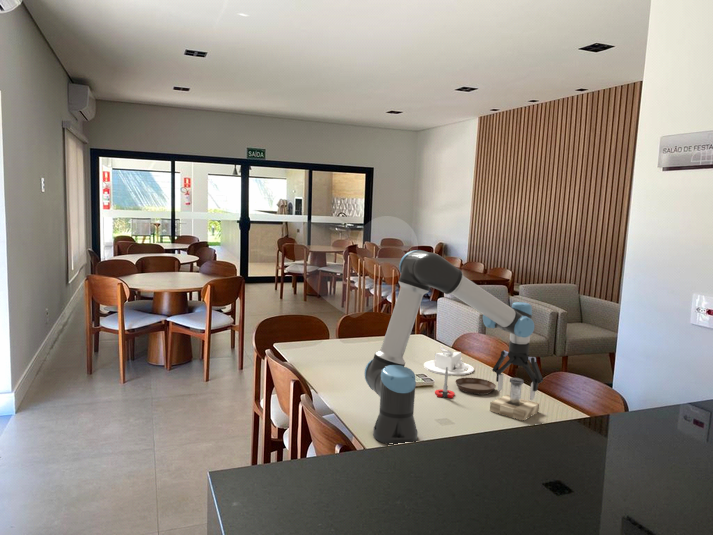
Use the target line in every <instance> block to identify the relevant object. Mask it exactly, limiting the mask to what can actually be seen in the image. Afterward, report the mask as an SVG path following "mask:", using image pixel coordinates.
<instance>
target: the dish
mask: <svg viewBox="0 0 713 535" xmlns="http://www.w3.org/2000/svg"><path fill="white" fill-rule="evenodd" d="M439 349H440V350H441V352H435V353H434V359H432V360H427V361H425V362H424V363H423V367H424V369H425V370H426V371H428V372H430V373H434V374H437V375H443V376H445V372H446V367H448V376H451V375H462V376H466V375H465V374H469V375H471V374H473V373H474V370H475V368H474V367H473V365H470V364H468V363H465V362H464V361H462V352H461V351H456V352H455V351H451V350H449V349H445V347H443V346H442V345H439ZM467 368H468V370H467ZM464 370H467V371H464ZM472 372H473V373H472ZM470 373H471V374H470Z"/></svg>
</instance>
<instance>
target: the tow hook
mask: <svg viewBox="0 0 713 535" xmlns="http://www.w3.org/2000/svg"><path fill="white" fill-rule="evenodd" d="M448 377H449V375H448V367H446V372H445V375H444V385H443V388H440V389H436V390H434V393H435V395H436V397H437V398H443V397H444V398H445V399H447V398H448V399H453V398H454V396H455V394H456V393H455V392H454V391H452V390H448V388H449V387H448Z"/></svg>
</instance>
